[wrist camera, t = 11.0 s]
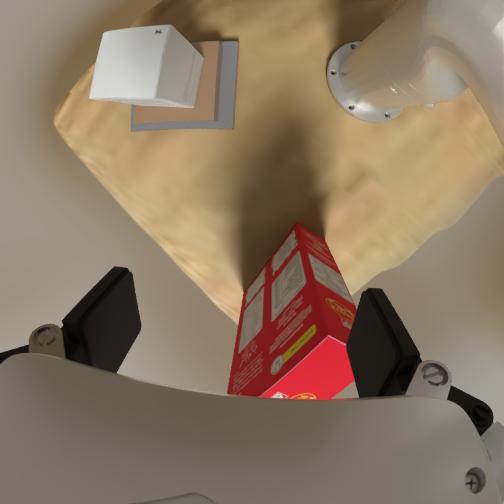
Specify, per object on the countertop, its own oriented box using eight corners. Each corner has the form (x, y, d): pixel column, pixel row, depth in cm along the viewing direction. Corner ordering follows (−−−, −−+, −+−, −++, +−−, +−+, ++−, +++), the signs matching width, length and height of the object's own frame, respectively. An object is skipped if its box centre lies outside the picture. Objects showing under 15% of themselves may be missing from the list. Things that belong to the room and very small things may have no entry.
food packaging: (270, 308, 47) (266, 440, 24) (243, 293, 46) (221, 425, 23) (325, 241, 41) (377, 360, 18) (297, 221, 40) (328, 334, 18)
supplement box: (152, 56, 28) (102, 29, 16) (205, 57, 28) (174, 22, 16) (141, 106, 31) (86, 99, 19) (194, 110, 31) (155, 99, 19)
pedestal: (239, 44, 30) (235, 34, 26) (233, 129, 36) (229, 128, 32) (140, 52, 31) (127, 45, 27) (135, 131, 36) (120, 132, 32)
